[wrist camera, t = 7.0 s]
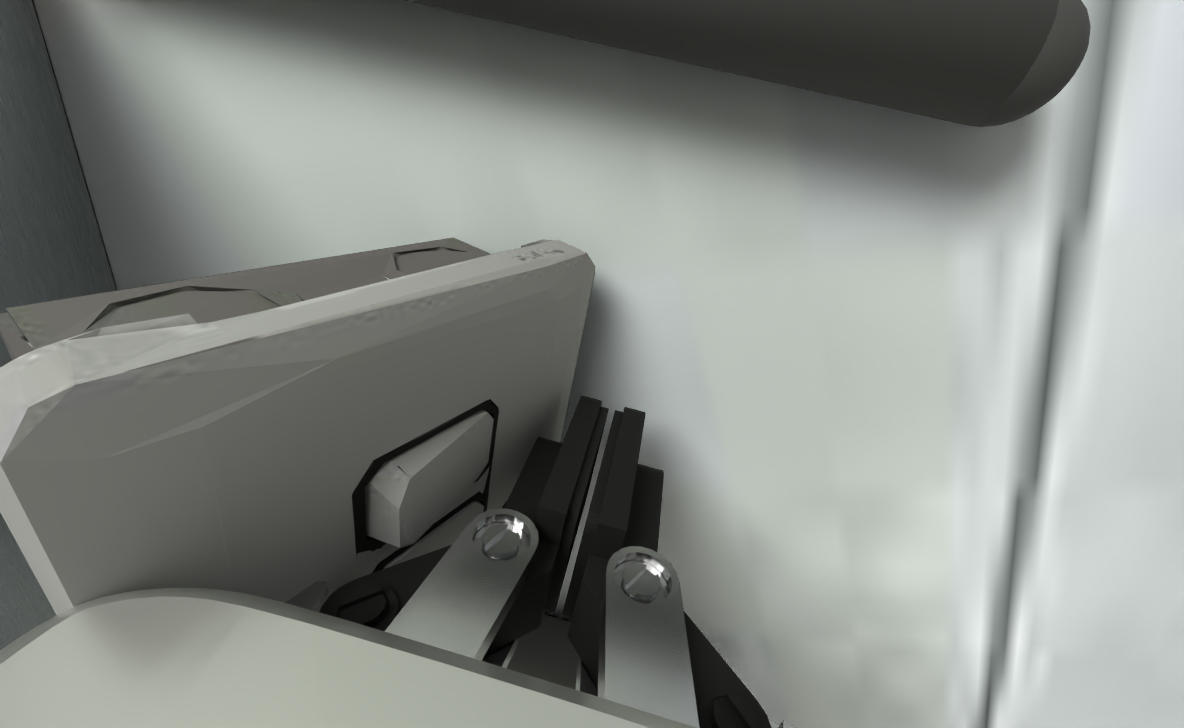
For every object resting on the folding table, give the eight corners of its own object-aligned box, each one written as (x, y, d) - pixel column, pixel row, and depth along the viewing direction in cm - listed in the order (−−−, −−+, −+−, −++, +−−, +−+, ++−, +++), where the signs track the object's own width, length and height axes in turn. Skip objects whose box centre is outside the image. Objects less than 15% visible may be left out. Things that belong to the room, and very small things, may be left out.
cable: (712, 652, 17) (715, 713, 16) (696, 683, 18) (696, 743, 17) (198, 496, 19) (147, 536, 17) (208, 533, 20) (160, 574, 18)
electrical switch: (546, 530, 16) (279, 923, 8) (413, 466, 17) (70, 747, 9) (607, 243, 11) (122, 489, 3) (420, 185, 12) (-242, 265, 5)
